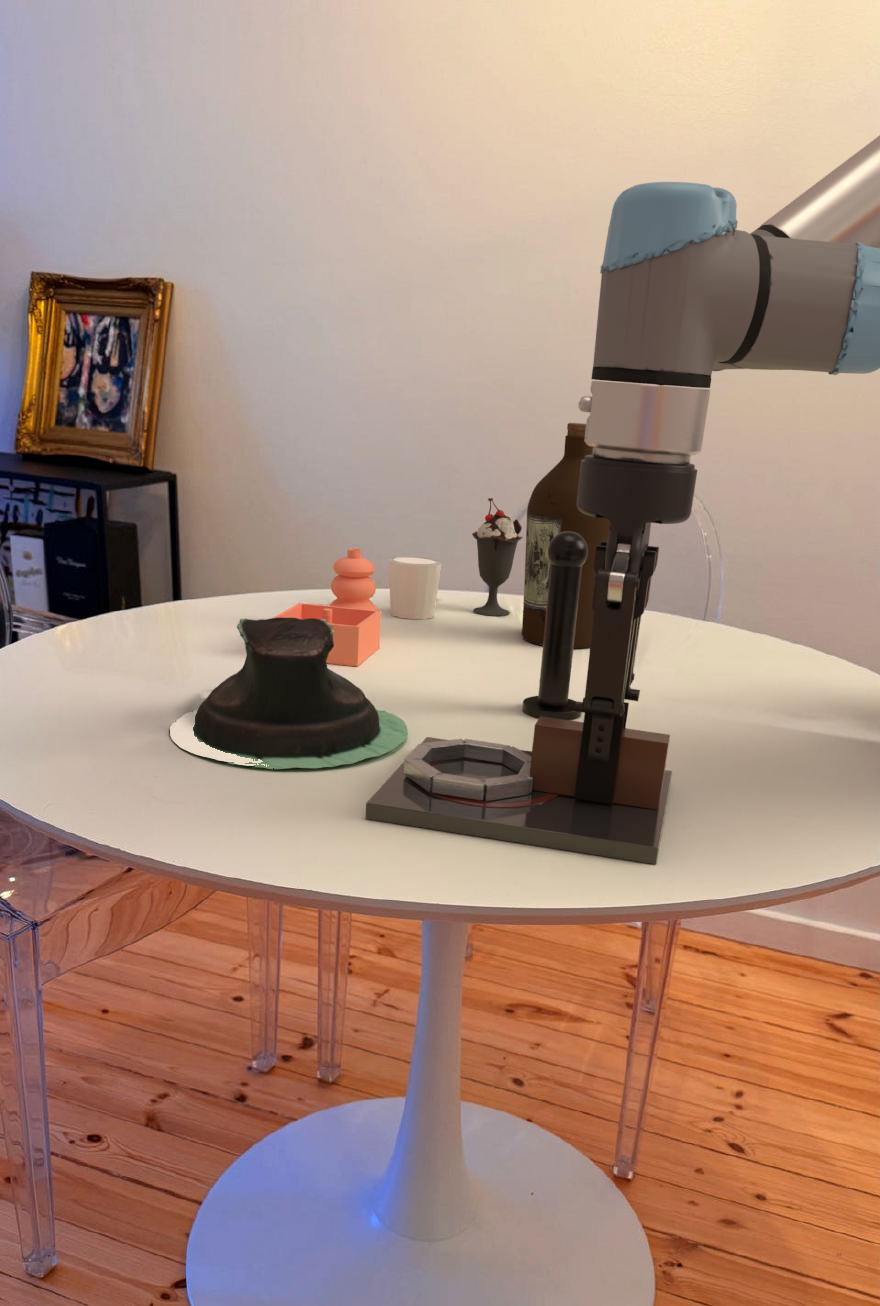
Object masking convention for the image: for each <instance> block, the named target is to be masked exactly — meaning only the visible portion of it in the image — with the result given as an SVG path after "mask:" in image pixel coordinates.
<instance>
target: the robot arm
mask: <svg viewBox="0 0 880 1306" xmlns="http://www.w3.org/2000/svg"><path fill="white" fill-rule="evenodd" d="M738 221H739V220H737V200H736V197H735V196H734V194H732V192H731V191H730V190H728V189H725V188H723V187H722V188H721V187H713V186H711V185H709V184H705V183H697V182H686V181H685V182H684V181H683V182H682V181H655V182H645V183H640V184H635V185H633V186H631V187H629V188H626V189H625V190H623V191H622V192H621V193H619V195H618V197H617V198H616V199H615V200H614V202H613V205H612V209H611V213H610V218H609V225H608V228H607V234H606V241H605V247H604V253H603V260H602V264H601V265H600V272H599V273H600V274H601V278H600V286H599V287H600V289H599V299H598V310H597V320H596V330H595V331H596V332H595V341H594V342H595V343H594V352H593V362H592V371H591V382H590V388H589V391H590V393H591V395H590V396H589V395H585V396H581V397H580V400H579V402H578V409H579V411H580V412H582V413H589V416H588V417H587V418H586V423H585V424H586V431H585V440H584V441H585V443H586V444H587V445H588V446H591V447H593V455H586V456H585V459H584V460H581V467H580V476H579V485H578V494H577V508H578V510H579V511H580V512H582V513H583V514H586V515H589V516H593V517H597V518H608V519H609V520H610V521H611V525H610V530H609V535H608V541H601V544H600V546H599V545H597V547H596V552H595V559H594V570H595V572H596V576H595V588H594V595H593V603H592V608H593V610H594V618H593V627H592V636H591V645H590V647H589V655H588V665H587V674H586V681H585V682H586V683H585V692H584V697H583V698H582V701H576V702H577V703H576V704H575V711H576V712H582V713H584V715H583V722H584V723H583V731H582V739H581V747H580V755H579V763H578V771H577V779H576V788H575V796H574V798H575V799H581V800H587V801H594V802H600V803H606V804H612V803H613V798H614V791H615V783H616V776H617V769H618V762H619V754H620V747H621V740H622V732H623V728H626V727H627V721H628V720H627V719H628V714H629V713H628V712H629V704H630V702H626V701H633V702H639V699H640V693H641V689H636V688H635V689H634V688H632V687H631V685H632V684H633V682H634V681H635V673H634V669H635V661H636V656H637V655H636V654H637V648H638V643H639V642H638V641H639V634H640V629H641V621H642V616H643V614H644V613H645V610H646V608H647V606H648V604H649V603H648V602H649V599H650V591H651V584H652V577H653V576H654V574H655V572H656V569H657V565H658V559H659V554H660V553H659V551H660V547H659V546H653V545H649V544H650V536H651V528H652V527H651V526H652V524H660V525H675V524H681V523H684V522H686V521H688V519H689V518H690V517H691V515H692V509H693V503H694V496H695V491H696V490H695V489H696V482H697V476H698V469H696V465H695V464H694V463H691V458H692V457H691V456H696V455H698V454H699V453H701V452H702V449H703V448H702V447H703V442H704V435H705V427H706V422H707V416H708V415H707V414H708V407H709V401H710V395H711V389H710V388H711V385H712V374H713V372H721V371H724V370H763V371H765V370H766V371H803V372H804V371H807V372H819V373H828V375H831V376H832V375H833V376H837V375H839V374H854V375H855V374H859V375H864V374H870V373H873V372H876V371H877V370H880V134H879V135H878V136H876V137H875V138H874V139H873V140H871V141H870V142H869V143H867V144H866V145H865V146H864V147H862V148H861V149H860V150H858V151H857V152H856V153H854V154H853V155H852V156H850V157H849V158H848V159H846V160H844V161H843V162H842V163H840V165H838V166H837V167H836V168H834V169H833V170H832V171H830V172H829V173H827V175H824V176H823V177H822V178H821V179H819V180H818V181H817V182H816V183H815V184H813V185H811V187H809V188H808V189H806V190H805V191H804V192H802V193H801V194H800V195H798V196H797V197H796V198H795V199H793V200H792V201H790V203H788V204H787V205H785V206H783V208H782V209H780V210H779V211H778V212H776V213H775V214H773V215H772V216H771V217H769V218H768V219H767V220H765V221H764V222H763V223H762V224H761V225H760V226H758V227H757V228H756V229H754V230H753V231H752V232H750V233H749V232H748V231H746V230H739V229H738ZM626 729H627V728H626Z"/></svg>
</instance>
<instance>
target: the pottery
mask: <svg viewBox="0 0 880 1306" xmlns="http://www.w3.org/2000/svg"><path fill="white" fill-rule="evenodd" d="M362 551H363V549H361V548H353V547H352V548H347V556H345V557H341V558H339V559H337V560H336V561H335V562H334V563H333V566H332V569H333V571H334V573H335V574H337V576H335V577H334V578H333V579H332V581H331V584H330V590H331V592H332V594H333V595H334V596H335V597H336V598H335V599H333V600H332V602H330V604H329V605H325V604H315V603H306V602H305V603H304V602H298V603H296V604H295V605H293V606H291V607H290V608H288V609H286V610H284V611H283V612H281V613H278V614H277V615H275V616H273V617H272V618H274V617H275V618H278V617H280V618H298V619H302V620H303V619H309V618H315V619H319V620H324V619H325V620H326V621H327V624H328V625H333V628H332V629H331V631H334V633H333V642H334V647H333V648H332V650H331V651H330V652H329V654H328V657H327V660H326V663H327V664H330V665H340V666H349V667H356V668H357V667H360V665H361V664H363V663H364V662H365V661H366V660H368V658H369V657H371V656H372V655H373V654H375V652H376V651H378V650H379V649H380V644H381V643H380V641H381V618H382V617H381V615H382V611H381V610H379V609H378V608H377V606H376V604H375V603H374V602H373V601H371V600H370V599H371V598H372V597H374V595H375V594H376V590H377V586H376V582H375V580H374V579H373V578H372V577H370V576H372V575H373V574H374V573H375V571H376V568H375V564H374V563H373V562H372V561H371V560H369V559H367V558H364V557H362V554H363V553H362Z"/></svg>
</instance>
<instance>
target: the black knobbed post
mask: <svg viewBox="0 0 880 1306" xmlns="http://www.w3.org/2000/svg"><path fill="white" fill-rule="evenodd" d="M587 556H588V547H587V544H586V542H585V540H584V538H583V537H582V536H580V535H579V534H578V533H575V532H572V531H565V532H561V533H559V534H557V535H556V536H555V537H554V538H553V539H552V540H551V542H550V544H549V546H548V558H549V561H550V563H551V568H550V579H549V589H548V600H547V610H546V621H545V631H544V642H543V645H542V654H541V663H540V674H539V684H538V695H533V696H529V697H526V698H525V699H523V701H522V705H521V706H522V707H521V709H522V711H523V712H524V713H525V714H526V715H528V716H530V717H533V718H536V719H537V718H538V719H539V717H540V716H542V717H549V718H556V719H563V720H570V721H572V720H575V719H579V718H580V717H581V716H582V713H583V712H576V711H575V704H576V703H577V702H578V701H576V700H574V699H571V698H569V693H570V685H571V684H570V683H571V674H572V667H573V666H572V665H573V664H572V663H573V656H574V655H573V654H574V648H573V647H574V637H575V628H576V618H577V609H578V599H579V590H580V581H581V571H582V565H583V564H584V563H585V561H586V559H587Z"/></svg>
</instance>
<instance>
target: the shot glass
mask: <svg viewBox="0 0 880 1306" xmlns="http://www.w3.org/2000/svg"><path fill="white" fill-rule="evenodd" d="M442 564H443V562H442V561H440V560H438V559H434V558H429V557H424V556H423V557H422V556H395V557H391V558H389V559H388V581H389V601H390V614H391V615H392V616H393V617H396V616H397V617H396V618H400V619H406V620H427V619H428V620H429V619H432V618H434V616H435V611H436V604H437V597H438V592H439V591H438V590H439V585H440V577H441V571H442V566H443V565H442Z"/></svg>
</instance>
